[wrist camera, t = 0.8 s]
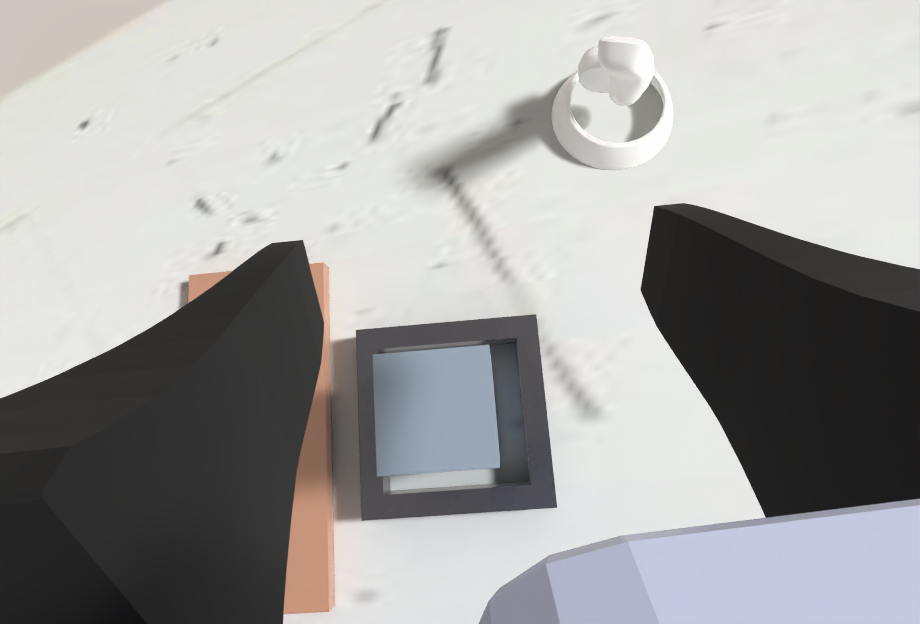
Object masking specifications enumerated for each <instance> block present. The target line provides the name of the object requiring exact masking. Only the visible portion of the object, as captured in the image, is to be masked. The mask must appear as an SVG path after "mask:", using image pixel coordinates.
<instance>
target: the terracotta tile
mask: <svg viewBox="0 0 920 624" xmlns="http://www.w3.org/2000/svg"><path fill="white" fill-rule="evenodd" d="M309 266H310V270H311V274H312V277H313V281H314V285H315V289H316V293H317V297H318V301H319V305H320V308H321V312H322V316H323V320H324V335H323V349H322V360H321V366H320V371H319V375H318V380H317V384H316V388H315V393H314V397H313V401H312V405H311V410H310V414H309V418H308V422H307V427H306V431H305V435H304V439H303V443H302V448H301V452H300V457H299V463H298V468H297V474H296V483H295V492H294V500H293V509H292V518H291V528H290V539H289V549H288V560H287V571H286V585H285V598H284V612H283V614H296V613H313V612H329V611H330V610H331V609H332V608H333V607H334V606H335V596H334V542H333V488H332V434H331V380H330V326H329V272H328V267H327V266H326V265H325V264H324V263H315V264H309ZM231 272H232V271H230V272H219V273H208V274H198V275H189V289H188V303H189V302H191V301H192V300H194V299H195V298H197V297H198V296H199V295H201V294H202V293H204V292H205V291H207V290H208V289H210V288H211V287H212V286H214V285H215V284H216V283H218V282H219V281H220V280H222V279H223V278H224V277H226V276H227V275H228V274H229V273H231Z"/></svg>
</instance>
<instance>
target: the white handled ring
mask: <svg viewBox="0 0 920 624" xmlns="http://www.w3.org/2000/svg"><path fill="white" fill-rule="evenodd" d="M578 80H579V81H580V83H581V85H582V86H583V87H584V88H586V89H587V90H590V91H593V92H598V93H605V94H609V95H610V98H611V99H612V100H613V101H614V103H616V104H617V105H620V106H630V105H632V104H634V103H635V102H636V101H637V100H638V99H639V98H640V97H641V95H642V94H643V92H644V91H645V90H646V89H647V87H648V86H649V84H650V83H651V84H652V85H653V86H654V87H655V88H656V90H657V91H658V92H659V94H660V97H661V99H662V103H663V111H662V115H661V117H660V119H659V121H658V123H657V124H656V126H655V127H654V128H653V129H652V130H651V131H650V132H649V133H647V134H646V135H644V136H643V137H641V138H639V139H636V140H633V141H630V142H624V143H610V142H606V141H602V140H599V139H597V138H594V137H592V136H591V135H589V134H588V133H586V132H585V131H584V130H583V129H582V128H581V127H580V126H579V125H578V123H577V122H576V120H575V118H574V116H573V113H572V110H571V104H570V103H571V94H572V90H573V87H574V86H575V84H576V83H577V81H578ZM552 124H553V129H554V132H555V134H556V137H557V139H558V140H559V142H560V144H561V145H562V147H563V148H564V149H565V150H566V151H567V152H568V153H569V154H570V155H571V156H573V157H574V158H576V159H577V160H578V161H580V162H582V163H584V164H586V165H589V166H591V167H595V168H599V169H604V170H621V169H628V168H631V167H635V166H638V165H640V164H642V163H644V162H646V161H648V160H649V159H651V158H652V157H653V156H654V155H656V154H657V153H658V152H659V151H660V150H661V148H662V147H663V146H664V145H665V143H666V141H667V139H668V137H669V135H670V133H671V129H672V125H673V105H672V101H671V96H670V93H669V91H668V88H667V86H666V84H665V82H664V81H663V79H662V78H661V76H660V75H659V74H658V73H657V72H656V71H655V70H654V56H653V53H652V51H651V50H650V48H649V46H648V44H647V43H646V42H644V41H642V40H640V39H636V38H630V37H621V36H609V37H604V38H601V39H600V40H599V42H598V46H596V47H593V48H591V49H589V50H588V51H586V52H585V54H584V55H583V57H582V59H581V61H580V63H579V66H578V70H577V71H576V72H575V73H573V74H572V75H571V76H570V77H569V78H568V79H567V81H566V82H565V83H564V84H563V85H562V86H561V88H560V90H559V91H558V93H557V95H556V97H555V100H554V103H553V106H552Z"/></svg>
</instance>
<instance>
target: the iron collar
mask: <svg viewBox="0 0 920 624" xmlns="http://www.w3.org/2000/svg"><path fill="white" fill-rule="evenodd" d="M505 343H516V351H517V362H518V372H519V382H520V392H521V402H522V412H523V423H524V433H525V443H526V453H527V463H528V473H529V481H527V482H513V483H498V484H484V485H470V486H455V487H441V488H427V489H412V490H398V491H390V476H377V463H376V436H375V409H374V381H373V354H385V353H397V352H408V351H420V350H432V349H444V348H456V347H468V346H480V345H493V344H505ZM356 344H357V378H358V411H359V444H360V478H361V511H362V520H377V519H392V518H407V517H422V516H437V515H452V514H467V513H482V512H497V511H512V510H527V509H542V508H557V503H556V493H555V484H554V475H553V466H552V456H551V447H550V438H549V429H548V420H547V410H546V401H545V392H544V383H543V373H542V364H541V355H540V346H539V336H538V327H537V318H536V315H524V316H513V317H501V318H490V319H478V320H467V321H455V322H444V323H432V324H420V325H409V326H397V327H386V328H374V329H363V330H356Z"/></svg>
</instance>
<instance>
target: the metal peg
mask: <svg viewBox="0 0 920 624" xmlns="http://www.w3.org/2000/svg"><path fill="white" fill-rule="evenodd" d="M373 381H374V409H375V436H376V463H377V476H391V475H405V474H419V473H433V472H447V471H461V470H475V469H489V468H500V452H499V440H498V429H497V418H496V406H495V395H494V383H493V372H492V363H491V354H490V346H489V345H480V346H468V347H456V348H444V349H432V350H420V351H408V352H397V353H385V354H373Z"/></svg>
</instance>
